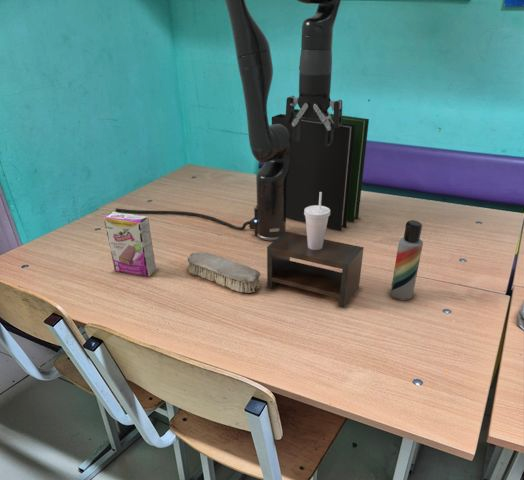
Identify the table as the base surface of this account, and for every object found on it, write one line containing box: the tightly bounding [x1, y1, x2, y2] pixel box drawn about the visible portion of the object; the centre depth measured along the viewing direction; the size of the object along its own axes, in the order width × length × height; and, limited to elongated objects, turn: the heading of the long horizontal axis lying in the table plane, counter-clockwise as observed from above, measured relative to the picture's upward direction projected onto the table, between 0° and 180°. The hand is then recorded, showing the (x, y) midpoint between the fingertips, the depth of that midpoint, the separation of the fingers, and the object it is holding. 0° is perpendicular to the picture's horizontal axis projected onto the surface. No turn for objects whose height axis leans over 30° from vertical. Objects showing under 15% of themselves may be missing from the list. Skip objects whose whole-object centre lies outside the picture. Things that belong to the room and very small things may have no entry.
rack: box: [266, 230, 365, 309], centre depth 129 cm, size 22×11×12 cm, turn 61°
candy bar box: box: [103, 211, 157, 278], centre depth 137 cm, size 11×5×16 cm, turn 71°
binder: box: [271, 108, 370, 232], centre depth 163 cm, size 27×15×32 cm, turn 54°
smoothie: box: [304, 192, 330, 250], centre depth 121 cm, size 6×6×14 cm
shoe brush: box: [187, 251, 261, 294], centre depth 135 cm, size 24×8×5 cm, turn 54°
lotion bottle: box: [390, 219, 424, 301], centre depth 123 cm, size 6×6×20 cm
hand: (312, 143), depth 125 cm, fingers open, 8 cm apart
